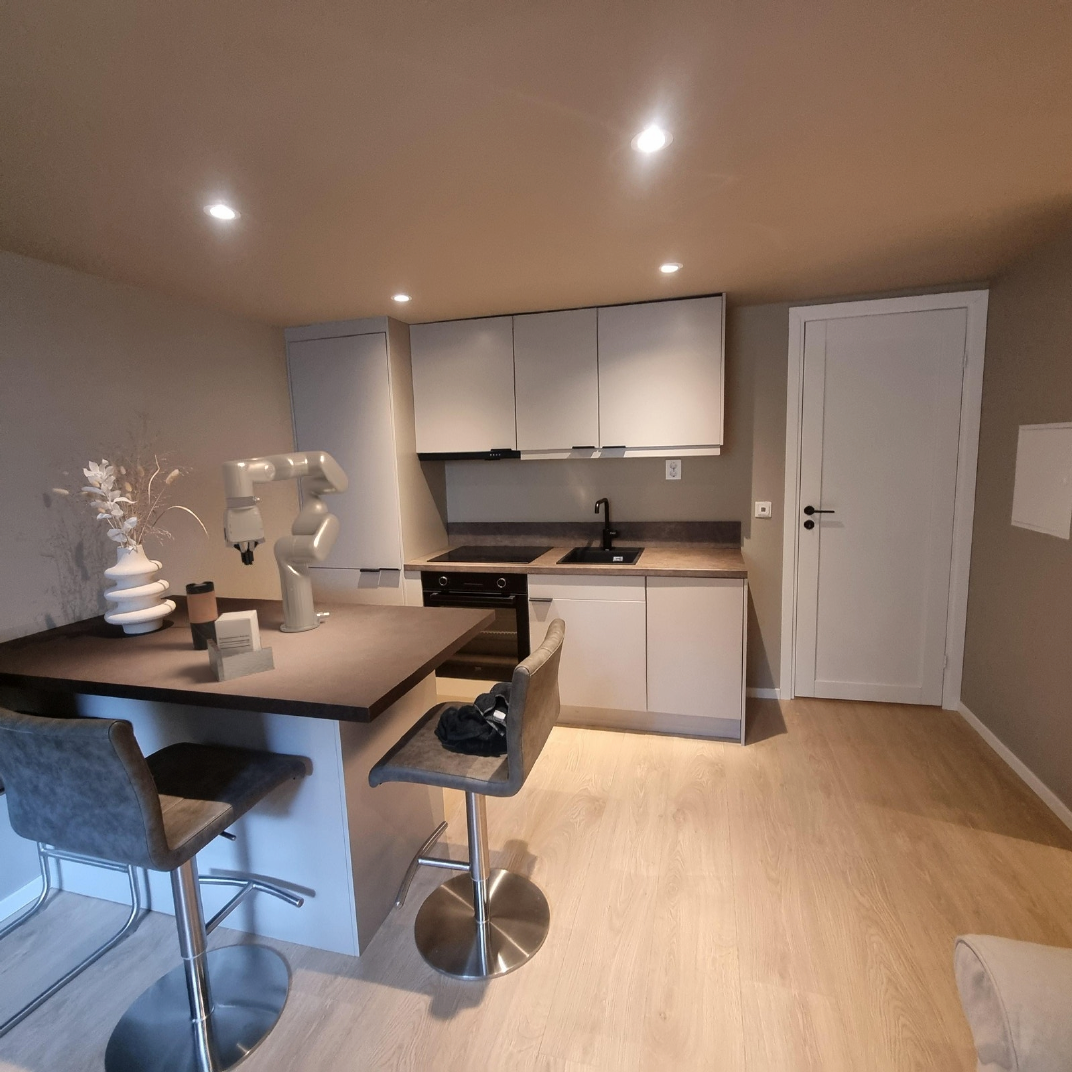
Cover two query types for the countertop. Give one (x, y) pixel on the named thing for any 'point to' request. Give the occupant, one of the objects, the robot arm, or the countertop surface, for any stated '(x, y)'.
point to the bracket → (239, 662)
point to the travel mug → (202, 613)
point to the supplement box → (237, 632)
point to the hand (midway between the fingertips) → (248, 564)
